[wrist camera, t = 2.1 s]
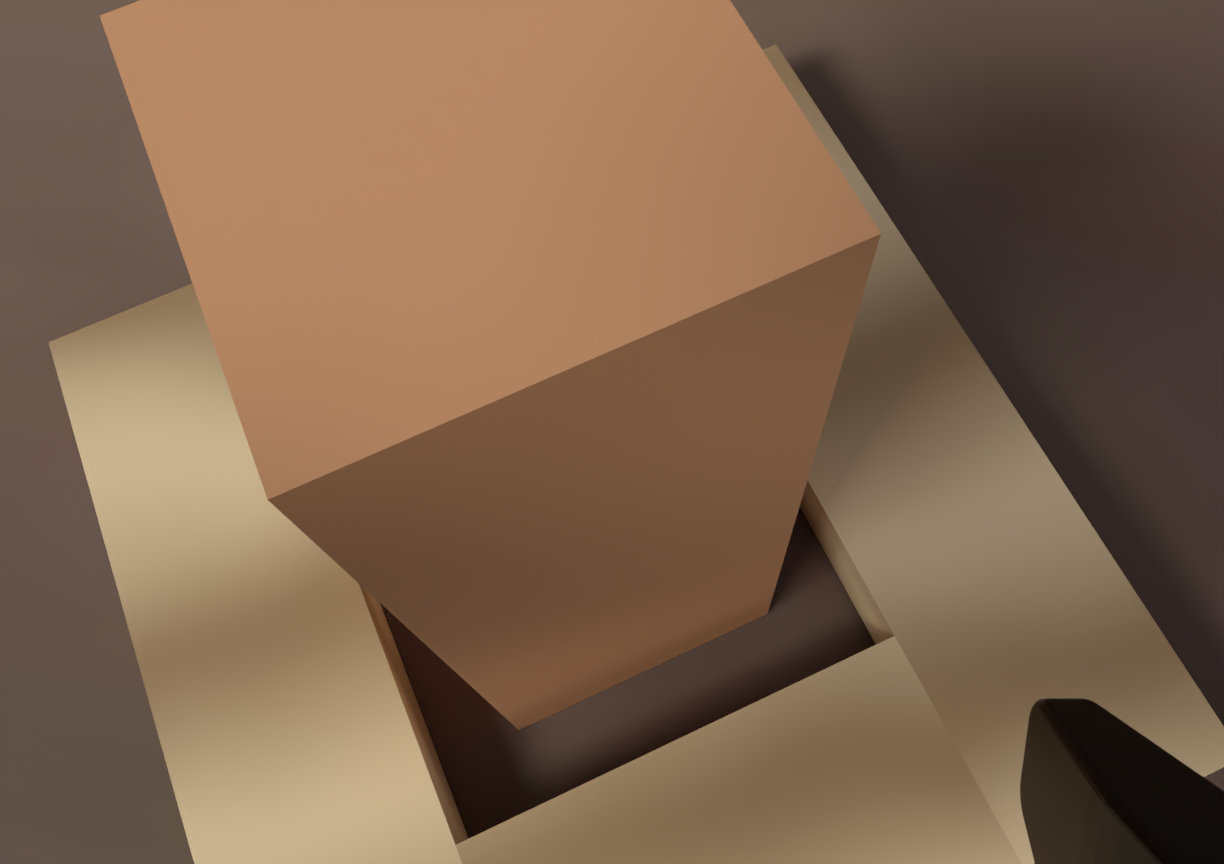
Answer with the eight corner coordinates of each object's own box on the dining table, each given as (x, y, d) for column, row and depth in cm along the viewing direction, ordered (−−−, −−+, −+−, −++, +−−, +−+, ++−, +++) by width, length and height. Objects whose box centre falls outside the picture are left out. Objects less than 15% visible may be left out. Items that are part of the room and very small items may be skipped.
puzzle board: (1203, 766, 19) (1243, 756, 18) (329, 1208, 17) (298, 1236, 16) (770, 91, 25) (776, 44, 24) (86, 374, 23) (48, 342, 22)
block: (767, 613, 21) (881, 233, 9) (518, 730, 20) (268, 499, 8) (652, 391, 22) (614, -180, 10) (422, 492, 22) (100, 15, 10)
